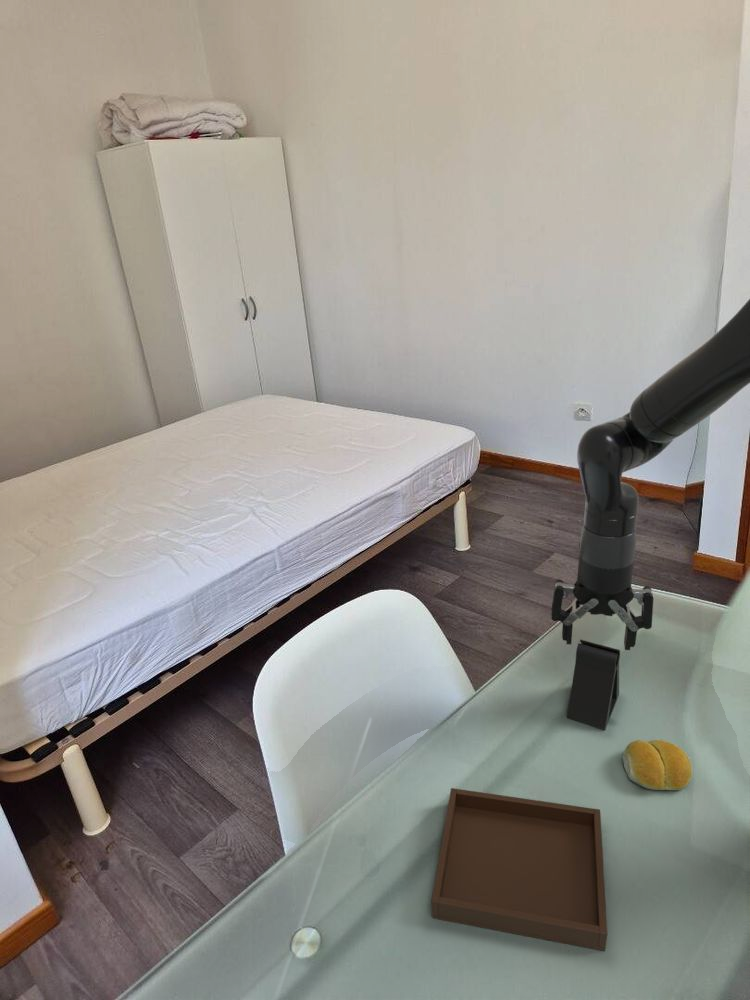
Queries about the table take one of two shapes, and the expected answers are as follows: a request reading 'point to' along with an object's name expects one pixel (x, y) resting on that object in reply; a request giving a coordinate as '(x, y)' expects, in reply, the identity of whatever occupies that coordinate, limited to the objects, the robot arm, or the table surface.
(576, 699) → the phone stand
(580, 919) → the tray
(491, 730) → the table surface
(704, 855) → the table surface
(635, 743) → the bread roll
